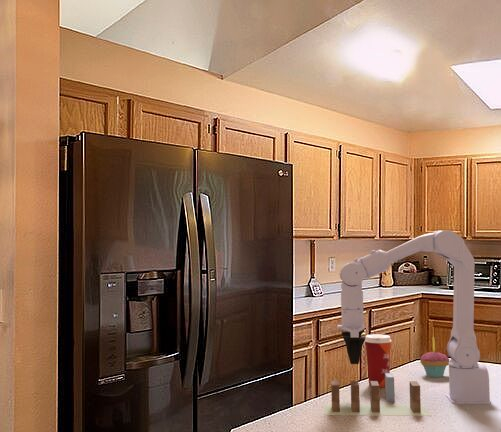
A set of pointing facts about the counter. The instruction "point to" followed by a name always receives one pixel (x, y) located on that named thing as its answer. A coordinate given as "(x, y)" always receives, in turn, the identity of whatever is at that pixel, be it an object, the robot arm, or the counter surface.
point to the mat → (384, 410)
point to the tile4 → (355, 396)
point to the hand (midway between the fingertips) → (353, 360)
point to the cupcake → (434, 362)
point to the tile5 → (335, 396)
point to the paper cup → (378, 357)
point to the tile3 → (375, 396)
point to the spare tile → (389, 387)
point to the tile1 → (415, 397)
